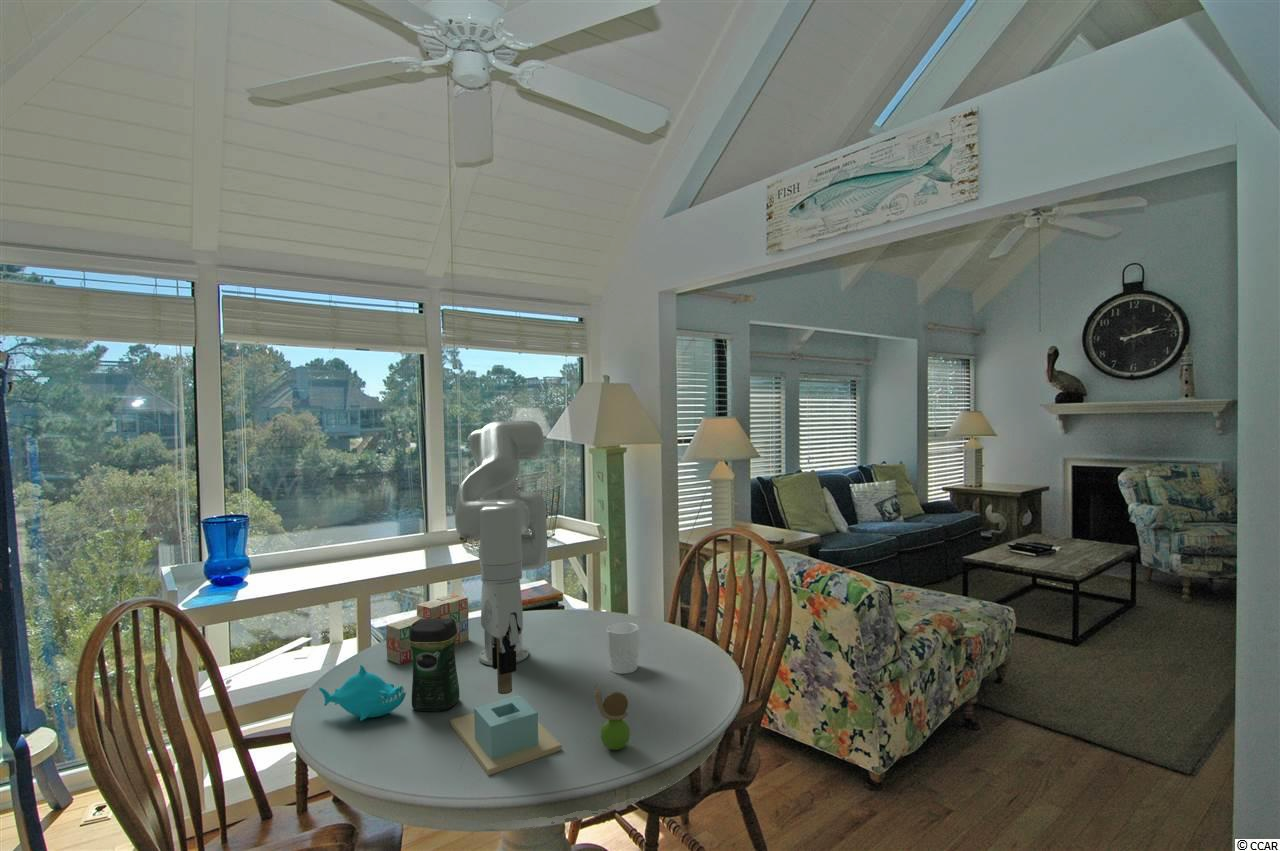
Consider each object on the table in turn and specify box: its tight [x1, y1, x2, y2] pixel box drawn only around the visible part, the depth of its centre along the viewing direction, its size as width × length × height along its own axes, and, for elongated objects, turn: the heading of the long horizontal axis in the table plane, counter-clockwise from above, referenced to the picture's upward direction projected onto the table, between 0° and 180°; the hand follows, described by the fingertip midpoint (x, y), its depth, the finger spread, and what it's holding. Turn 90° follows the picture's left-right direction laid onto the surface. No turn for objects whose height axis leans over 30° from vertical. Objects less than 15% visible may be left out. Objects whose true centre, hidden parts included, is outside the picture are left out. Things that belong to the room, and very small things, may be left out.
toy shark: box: [318, 664, 407, 722], centre depth 130 cm, size 10×18×11 cm, turn 90°
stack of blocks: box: [385, 593, 470, 665], centre depth 168 cm, size 21×6×12 cm, turn 143°
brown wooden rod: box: [496, 631, 513, 695], centre depth 116 cm, size 3×3×14 cm
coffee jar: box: [409, 618, 461, 712], centre depth 135 cm, size 10×8×19 cm
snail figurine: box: [593, 683, 631, 751], centre depth 115 cm, size 5×6×12 cm
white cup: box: [606, 622, 640, 675], centre depth 152 cm, size 8×8×10 cm
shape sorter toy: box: [450, 694, 563, 776], centre depth 120 cm, size 22×14×7 cm, turn 33°
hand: (504, 668), depth 116 cm, fingers closed on brown wooden rod, 2 cm apart
